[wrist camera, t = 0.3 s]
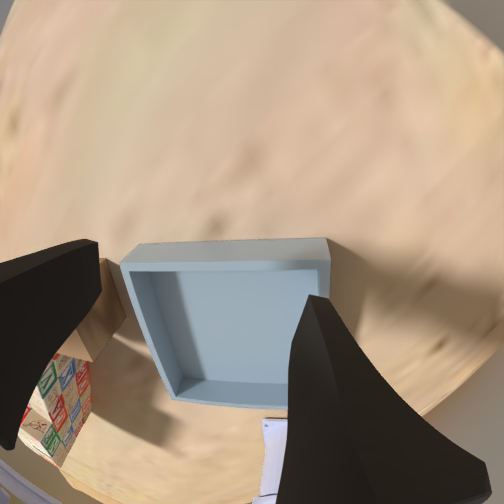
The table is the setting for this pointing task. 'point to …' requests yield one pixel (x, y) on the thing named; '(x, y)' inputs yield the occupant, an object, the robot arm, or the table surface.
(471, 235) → the table surface
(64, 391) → the stack of blocks
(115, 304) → the walnut block
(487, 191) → the table surface
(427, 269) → the table surface
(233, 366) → the tray
